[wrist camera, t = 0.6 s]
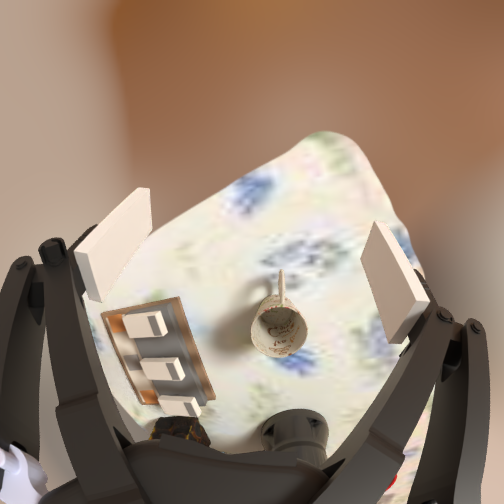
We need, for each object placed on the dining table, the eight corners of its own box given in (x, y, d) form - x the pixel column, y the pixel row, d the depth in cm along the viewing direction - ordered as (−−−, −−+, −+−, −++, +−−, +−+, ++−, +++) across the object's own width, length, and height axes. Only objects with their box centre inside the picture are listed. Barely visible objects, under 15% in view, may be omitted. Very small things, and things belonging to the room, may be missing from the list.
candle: (196, 413, 53) (186, 443, 43) (212, 442, 54) (205, 471, 44) (157, 416, 53) (144, 443, 43) (175, 443, 55) (164, 470, 45)
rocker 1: (170, 330, 45) (163, 336, 42) (136, 332, 47) (129, 338, 45) (162, 309, 44) (155, 314, 42) (129, 313, 46) (121, 318, 44)
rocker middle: (187, 373, 46) (181, 380, 43) (153, 373, 48) (147, 379, 46) (179, 355, 45) (173, 362, 43) (146, 355, 48) (139, 362, 45)
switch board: (215, 396, 52) (213, 406, 48) (143, 402, 53) (138, 411, 49) (179, 296, 49) (173, 302, 45) (103, 312, 50) (94, 317, 47)
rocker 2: (203, 409, 47) (198, 417, 44) (170, 407, 49) (164, 414, 47) (196, 394, 46) (190, 402, 44) (163, 392, 49) (157, 399, 46)
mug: (252, 331, 49) (250, 357, 39) (253, 263, 48) (250, 276, 38) (298, 331, 49) (305, 357, 39) (301, 264, 47) (311, 276, 37)
